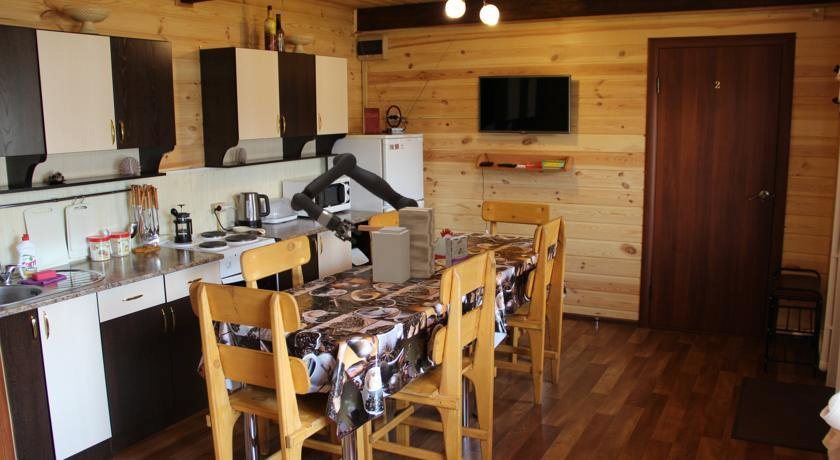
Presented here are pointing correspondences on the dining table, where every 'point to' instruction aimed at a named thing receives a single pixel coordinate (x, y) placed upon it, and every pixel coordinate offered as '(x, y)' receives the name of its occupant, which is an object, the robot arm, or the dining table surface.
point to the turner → (382, 229)
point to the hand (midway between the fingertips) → (358, 238)
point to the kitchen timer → (442, 244)
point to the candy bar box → (456, 250)
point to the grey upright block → (391, 257)
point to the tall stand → (420, 239)
